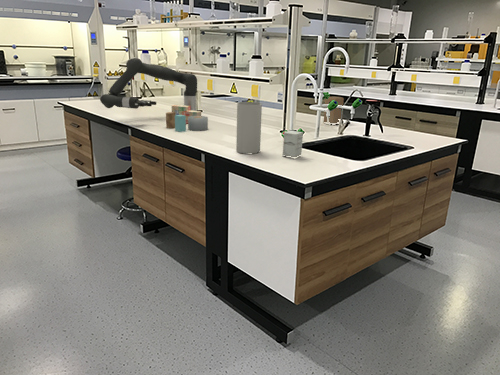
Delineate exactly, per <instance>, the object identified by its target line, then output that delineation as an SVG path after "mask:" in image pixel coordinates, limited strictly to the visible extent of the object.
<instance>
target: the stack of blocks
mask: <svg viewBox="0 0 500 375" xmlns="http://www.w3.org/2000/svg"><path fill="white" fill-rule="evenodd" d="M171 112H176V115H185V116H186V125H188V117H189V116H202V111H201V110H196V111H193V110H191V109H190V106H184V104H183V105H181V104H174V105H171Z"/></svg>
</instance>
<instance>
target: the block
mask: <svg viewBox="0 0 500 375" xmlns="http://www.w3.org/2000/svg"><path fill="white" fill-rule="evenodd" d="M328 97H329V98H328V99H326V98H325V99H324V100H325V103H324V105H325V104H328V103H329V102H330V101H332V100H335V101H337V102H338V105H342V106H343V107H344V100H345V99H344V97H341V96H328ZM323 113H324V114H323V123H324V122H327V117H326V112H324V111H323ZM340 118H341V109H339V108H336V109H334V110H333V111H331V112H330V118H329V122H330V123H337V122H339V120H338V119H340Z"/></svg>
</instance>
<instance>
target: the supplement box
mask: <svg viewBox="0 0 500 375" xmlns="http://www.w3.org/2000/svg"><path fill="white" fill-rule="evenodd" d="M303 136H304V132H303V131H302V132H301V131H296V130H287V131H284V132H283V144H282V145H283V146H282V156H283V155H285V156H291V157H297V156H299V155H301V156H302V150H303V138H304V137H303Z"/></svg>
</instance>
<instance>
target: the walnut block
mask: <svg viewBox="0 0 500 375" xmlns="http://www.w3.org/2000/svg"><path fill="white" fill-rule="evenodd" d="M175 115H176V112H172V111H170V112H169V111H167V112H165V121H166V124H165V125H166V129H174V130H175Z"/></svg>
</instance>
